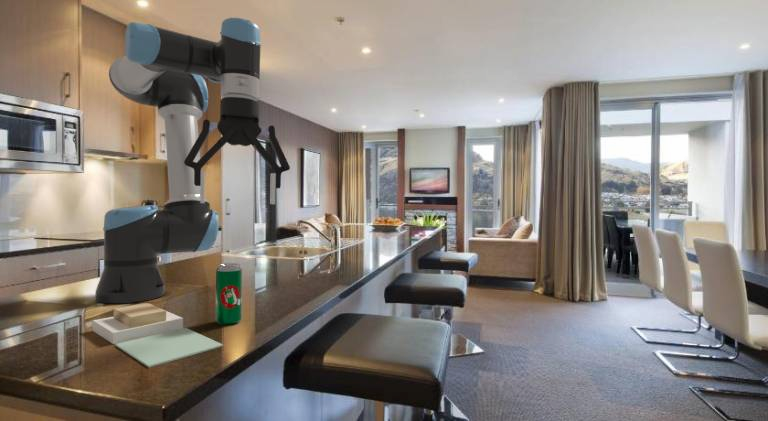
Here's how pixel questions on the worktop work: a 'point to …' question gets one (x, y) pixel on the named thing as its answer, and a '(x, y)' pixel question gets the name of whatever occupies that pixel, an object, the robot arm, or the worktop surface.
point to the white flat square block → (123, 333)
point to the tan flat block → (139, 315)
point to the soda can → (228, 294)
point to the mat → (168, 346)
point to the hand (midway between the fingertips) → (238, 203)
